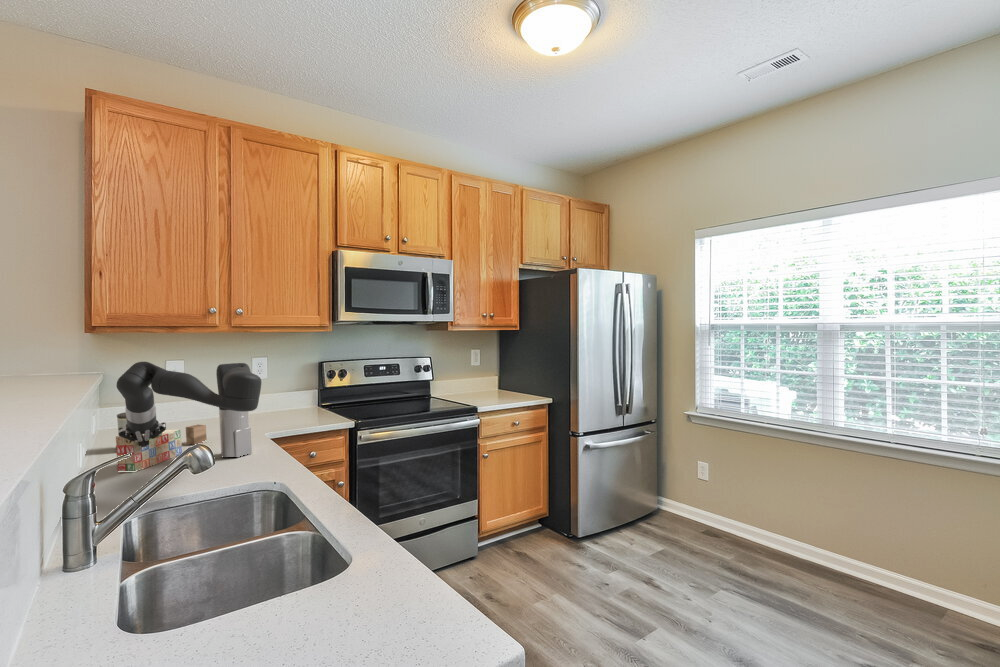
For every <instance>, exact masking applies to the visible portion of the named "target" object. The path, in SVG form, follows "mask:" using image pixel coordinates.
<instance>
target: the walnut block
mask: <svg viewBox="0 0 1000 667" xmlns="http://www.w3.org/2000/svg"><path fill="white" fill-rule="evenodd" d="M185 438H186V439H185V440H186V441H185V442H186V445H187V444H192V445H191V446H196V445H195V444H198V443H202V444H204V443H203V442H202V441H205V440H207V439H208V438H207V425H206V424H198V423H197V424H195V425H190V426H186V427H185ZM198 445H199V444H198Z"/></svg>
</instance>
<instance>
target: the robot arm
mask: <svg viewBox="0 0 1000 667" xmlns="http://www.w3.org/2000/svg"><path fill="white" fill-rule="evenodd" d="M251 371H252V370H251V368H250V365H248V364H247V363H245V362H237V363H236V362H235V363H234V362H232V363H222V364H221V363H219V365H217V367H216V371H215V372H216V384H217V392H218V393H216V392H214V391H213V390H212V389H210V388H209V387H208V386H206V384H204V383H203V382H202V381H201V380H200V379H199V378H197V377H196V376H194V375H192V374H189V373H187V372H179V371H174V370H167V369H165V368H163V367H160V366H158V365H155V364H154V363H152V362H149V361H139V362H135V363H134V364H132V365H131V366H130V367H129V368H128V369H127V370H126V371H124V373H123V374H121V375H120V377H119V378H118V379H117V382H116V384H115V385H116V388H117V390H118V392H119V393H120V394H121V395H122V397H123V398H124V402H125V412H126V419H127V424H126V427H125V428H119V436H120V437H123V438H125V439H128V440H130V441H136V440H138V443H139V446H141V447H147V445H149V439H150V438H152V439H154V438H156V437H157V436H158V435H160V434H161V433H162V432H164V431H165V430H167V424H166V422H161V423H159V420H157V408H156V403H155V395H154V393H155V394H158V395H162V396H170V397H177V398H183V399H188V400H191V401H195V402H198V403H202V404H205V405H208V406H212V407H217V408H218V414H219V418H218V419H219V435H220V439H219V440H220V450H221V451H220V453H221V454H220V455H221V456H223V457H238V458H241V457H244V456H243V455H245V456H247V454H248V455H251V454H252V453H253V450H252V432H251V431H252V430H251V427H250V424H249V423H250V420H249V419H250V417H249V412H253V411H255V410H256V409H258V407H259V402H260V401H259V400H260V395H261V390H262V379H261V377H260V376H259V375H258V374H255V373H252V372H251ZM150 386H151V387H150ZM143 434H144V437H143ZM240 456H241V457H240ZM223 457H222V458H223Z"/></svg>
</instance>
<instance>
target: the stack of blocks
mask: <svg viewBox="0 0 1000 667" xmlns="http://www.w3.org/2000/svg"><path fill="white" fill-rule="evenodd" d="M181 436H182V435H181V429H166V430H165V431H164V432H162V433H161V434H160V435H158V436H157V437H156V438H154V439H152V438H150V439H149V445H147V447H141V446H139V443H138V440H136V441H130V440H128V439H125V438H123V437H120V436H119V435H115V444H116V445H115V452H116V458H117V457H118V456H121V455H124V454H127V453H132V455H131V457H129V458H127V459H123V460H121V461H118V462H117V461H116V462H117V463H116V464H117V465H116V467H117V472H118V471H136V470H139V469H142V468H146V467H148V468H150V467H149V466H151V467H153V466H155V464H156V465H158V464H160V463H163V462H165V461H167V460H170V459H172V458H175V457H178V456H180V455H182V454H183V449H182V437H181ZM143 437H144V434H143ZM181 453H182V454H181ZM179 454H180V455H179ZM162 461H163V462H162ZM159 462H160V463H159ZM157 463H158V464H157ZM152 465H153V466H152ZM146 469H147V468H146Z"/></svg>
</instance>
